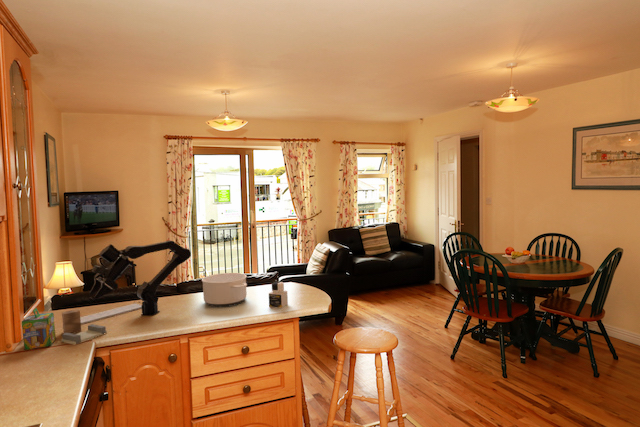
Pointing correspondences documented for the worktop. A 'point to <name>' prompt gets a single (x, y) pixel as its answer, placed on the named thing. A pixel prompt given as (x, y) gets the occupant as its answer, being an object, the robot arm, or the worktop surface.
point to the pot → (224, 289)
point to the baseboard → (110, 313)
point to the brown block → (71, 321)
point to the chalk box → (38, 330)
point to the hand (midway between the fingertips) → (92, 296)
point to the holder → (84, 334)
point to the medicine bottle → (278, 295)
